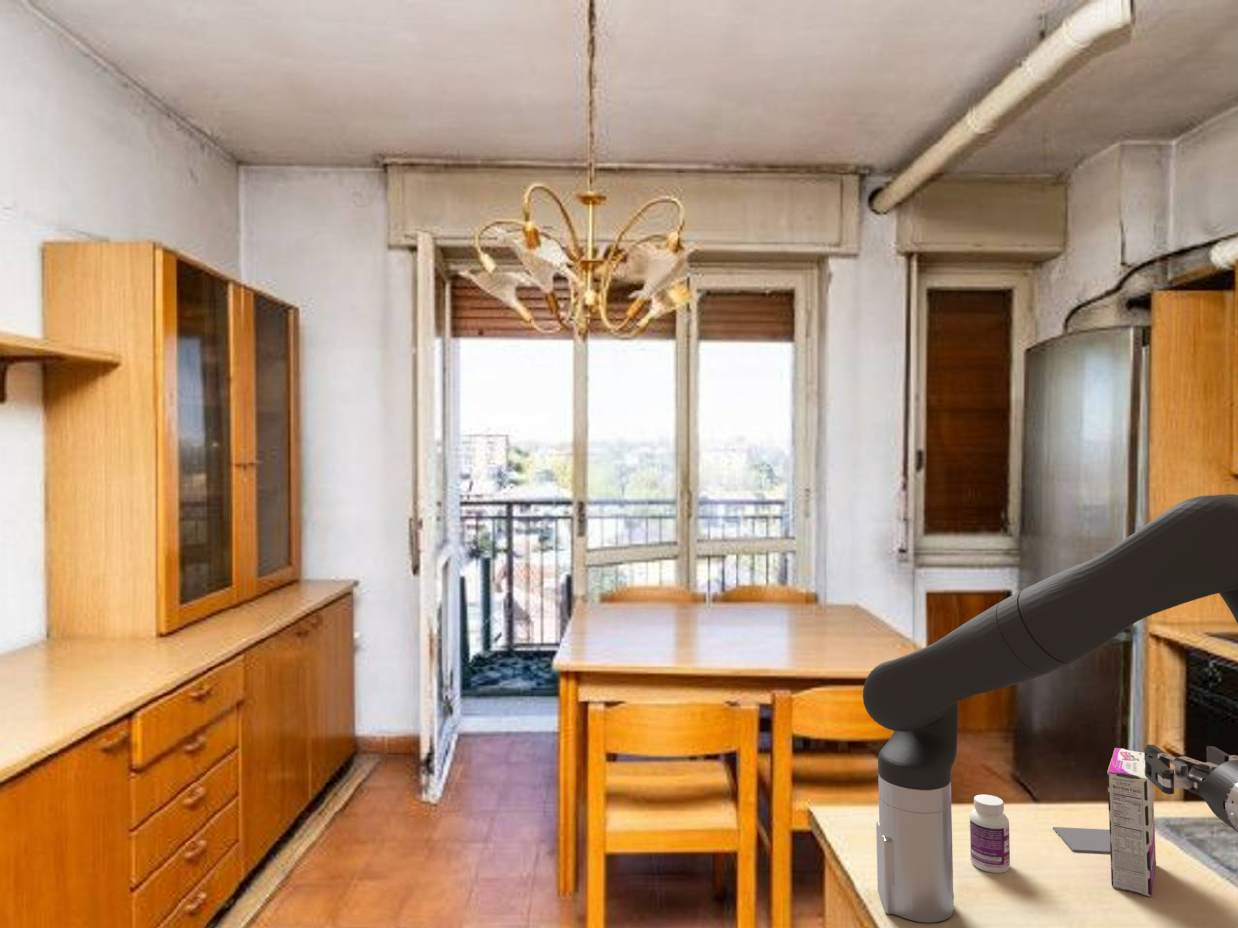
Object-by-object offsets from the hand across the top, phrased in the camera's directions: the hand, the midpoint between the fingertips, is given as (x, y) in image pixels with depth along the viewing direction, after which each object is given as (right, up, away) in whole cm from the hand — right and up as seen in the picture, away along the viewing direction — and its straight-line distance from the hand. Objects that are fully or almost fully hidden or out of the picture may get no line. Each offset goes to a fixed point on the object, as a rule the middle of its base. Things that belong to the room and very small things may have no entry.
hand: (1179, 753), depth 99 cm
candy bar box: (+2, -22, +12) cm, 26 cm away
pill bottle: (-16, -23, +16) cm, 32 cm away
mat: (+4, -22, +22) cm, 32 cm away
